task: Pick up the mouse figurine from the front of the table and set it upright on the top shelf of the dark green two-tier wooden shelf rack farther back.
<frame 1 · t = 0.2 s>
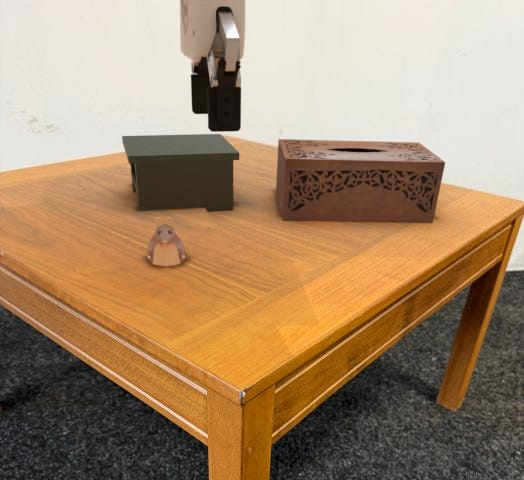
hand: (214, 121, 59), 20 cm above the table, tool pointing down, fingers open, 9 cm apart
tissue box cover: (350, 208, 99), on the table
mouse figurine: (167, 261, 76), on the table
shelf rack: (180, 199, 100), on the table
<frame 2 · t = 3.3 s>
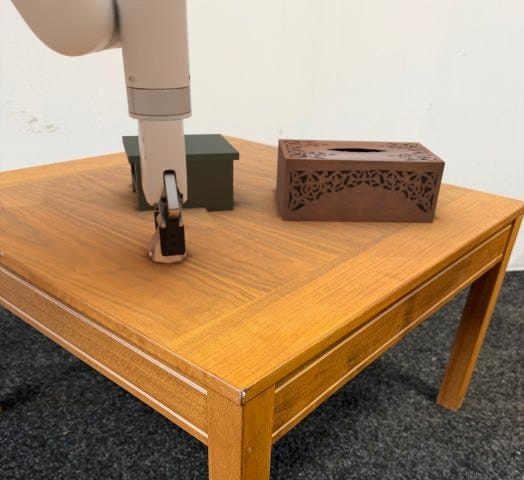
hand: (170, 245, 75), 2 cm above the table, tool pointing down, fingers closed on mouse figurine, 4 cm apart
mouse figurine: (168, 258, 77), on the table, touching gripper
everything else where it was.
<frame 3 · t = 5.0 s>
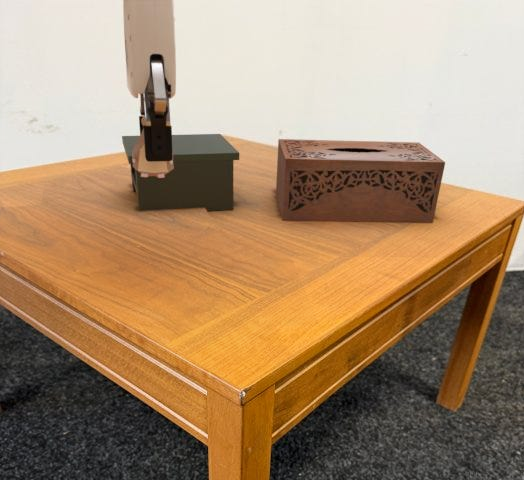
hand: (156, 153, 69), 14 cm above the table, tool pointing down, fingers closed on mouse figurine, 4 cm apart
mouse figurine: (153, 170, 71), point 12 cm above the table, touching gripper
everything else where it was.
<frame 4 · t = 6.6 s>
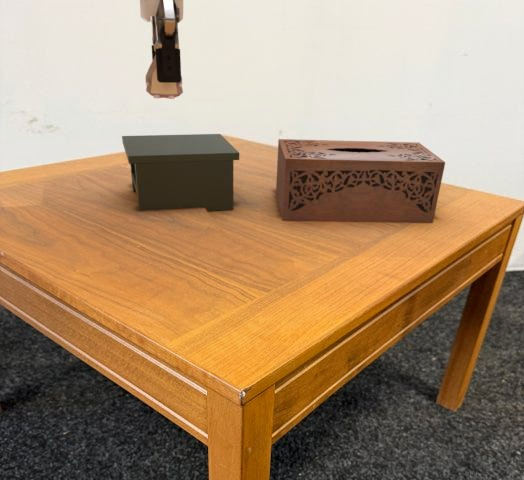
hand: (166, 78, 77), 21 cm above the table, tool pointing down, fingers closed on mouse figurine, 4 cm apart
mouse figurine: (165, 95, 79), point 19 cm above the table, touching gripper
everything else where it was.
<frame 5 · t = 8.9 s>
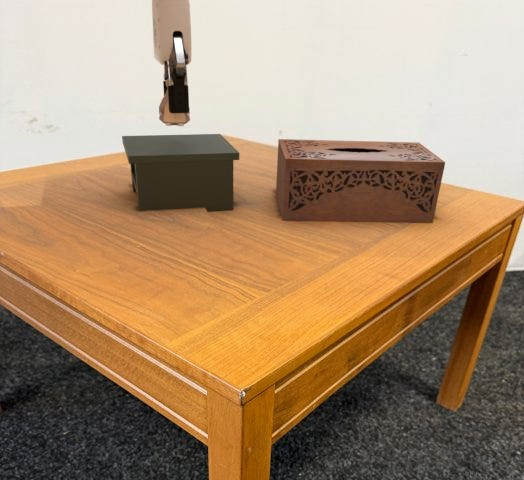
hand: (176, 108, 91), 15 cm above the table, tool pointing down, fingers closed on mouse figurine, 4 cm apart
mouse figurine: (174, 122, 94), point 13 cm above the table, touching gripper
everything else where it was.
when the fingers open (12 cm above the table, at t = 10.1 s): mouse figurine stays where it is, resting on shelf rack.
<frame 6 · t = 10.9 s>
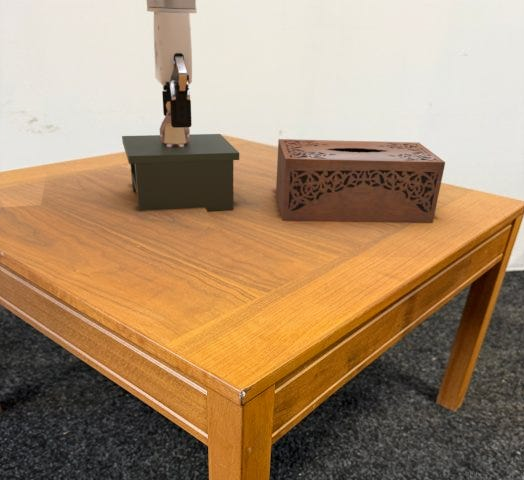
hand: (177, 121, 92), 13 cm above the table, tool pointing down, fingers open, 9 cm apart
mouse figurine: (175, 143, 96), point 9 cm above the table, touching shelf rack
everything else where it was.
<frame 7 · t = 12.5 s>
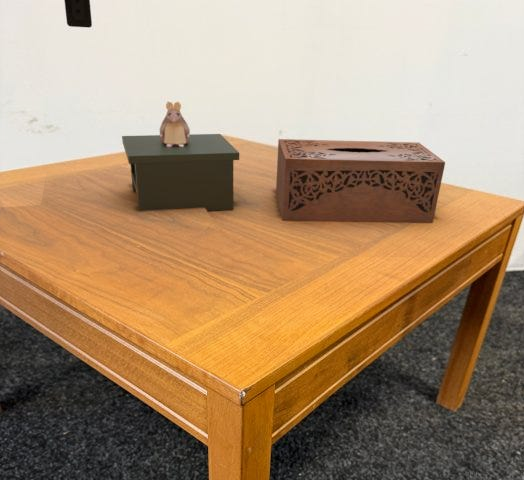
hand: (79, 25, 78), 27 cm above the table, tool pointing down, fingers open, 9 cm apart
nothing on the table moved.
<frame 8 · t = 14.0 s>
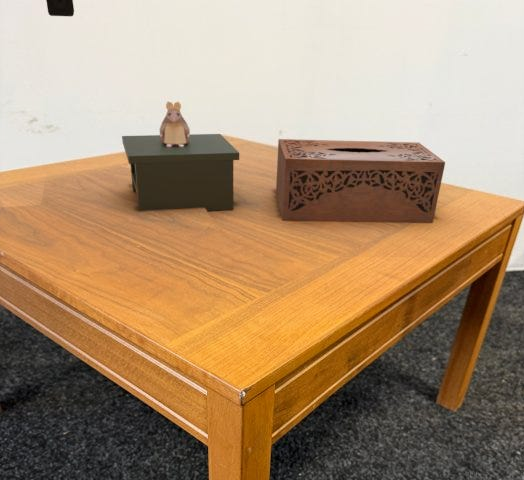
hand: (62, 14, 76), 28 cm above the table, tool pointing down, fingers open, 9 cm apart
nothing on the table moved.
at the end: mouse figurine inside the target area on the shelf rack (1.5 cm from its centre), point 9.4 cm above the shelf rack's base; mouse figurine tilted 0°; the gripper is holding nothing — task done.
